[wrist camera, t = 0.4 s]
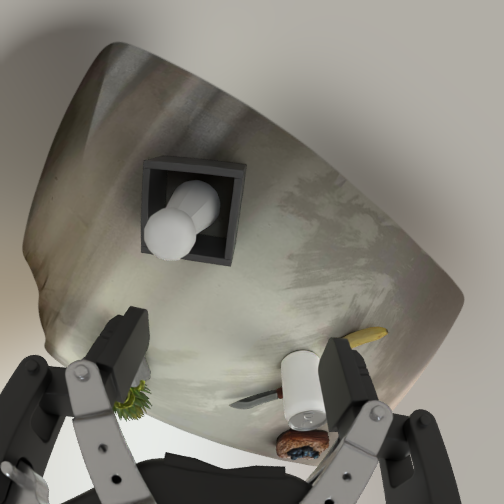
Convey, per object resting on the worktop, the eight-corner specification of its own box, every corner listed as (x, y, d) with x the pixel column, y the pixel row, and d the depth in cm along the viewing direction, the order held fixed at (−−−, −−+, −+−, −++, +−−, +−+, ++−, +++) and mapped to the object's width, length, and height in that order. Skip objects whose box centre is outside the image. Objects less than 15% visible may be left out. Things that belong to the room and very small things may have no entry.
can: (281, 376, 44) (284, 434, 33) (280, 350, 42) (284, 412, 31) (318, 372, 44) (329, 429, 33) (320, 346, 41) (334, 406, 30)
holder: (163, 155, 30) (143, 160, 25) (246, 164, 31) (244, 170, 25) (158, 234, 34) (141, 252, 29) (235, 245, 35) (230, 266, 29)
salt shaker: (191, 167, 31) (150, 188, 19) (232, 193, 32) (215, 229, 20) (168, 208, 33) (122, 249, 21) (206, 232, 34) (180, 285, 22)
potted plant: (136, 333, 37) (183, 410, 38) (122, 327, 47) (159, 390, 49) (69, 369, 30) (125, 447, 31) (70, 354, 40) (112, 419, 41)
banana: (377, 312, 39) (386, 328, 35) (382, 321, 39) (391, 337, 36) (322, 345, 41) (327, 363, 38) (329, 353, 42) (334, 370, 38)
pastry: (314, 448, 57) (316, 466, 52) (270, 446, 56) (270, 465, 51) (333, 429, 53) (336, 449, 47) (285, 426, 52) (286, 448, 46)
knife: (231, 403, 48) (229, 415, 45) (226, 399, 48) (225, 411, 45) (322, 376, 44) (324, 388, 42) (319, 371, 44) (322, 384, 41)
